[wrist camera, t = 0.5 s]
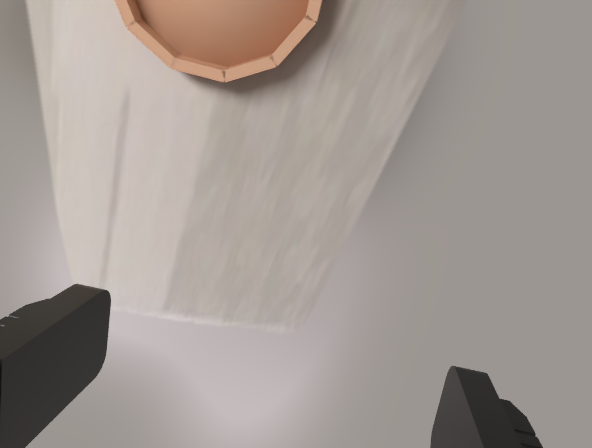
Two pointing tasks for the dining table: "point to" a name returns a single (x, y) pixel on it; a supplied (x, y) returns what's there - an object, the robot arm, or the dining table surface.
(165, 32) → the terracotta dish
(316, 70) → the dining table surface
